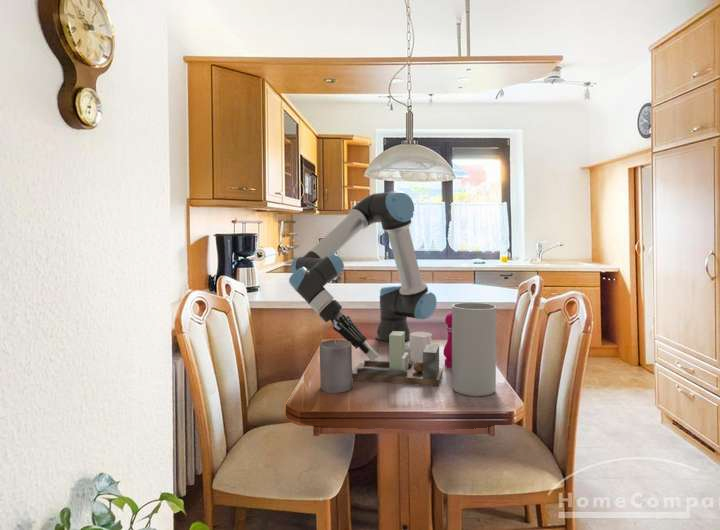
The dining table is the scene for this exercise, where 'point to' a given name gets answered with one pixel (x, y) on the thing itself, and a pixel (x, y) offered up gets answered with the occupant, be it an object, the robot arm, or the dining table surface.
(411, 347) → the white cup
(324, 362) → the pillar candle
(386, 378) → the press bench
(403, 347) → the block
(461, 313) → the cylinder vase
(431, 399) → the dining table surface
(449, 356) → the pink bowling pin
